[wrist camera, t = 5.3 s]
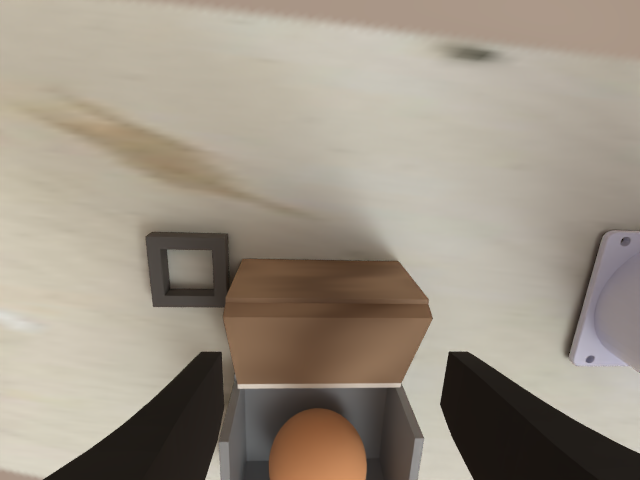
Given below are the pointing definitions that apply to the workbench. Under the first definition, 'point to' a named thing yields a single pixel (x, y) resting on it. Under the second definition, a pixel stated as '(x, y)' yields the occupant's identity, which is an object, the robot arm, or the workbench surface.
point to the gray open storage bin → (352, 403)
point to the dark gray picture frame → (160, 274)
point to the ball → (317, 448)
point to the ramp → (323, 323)
